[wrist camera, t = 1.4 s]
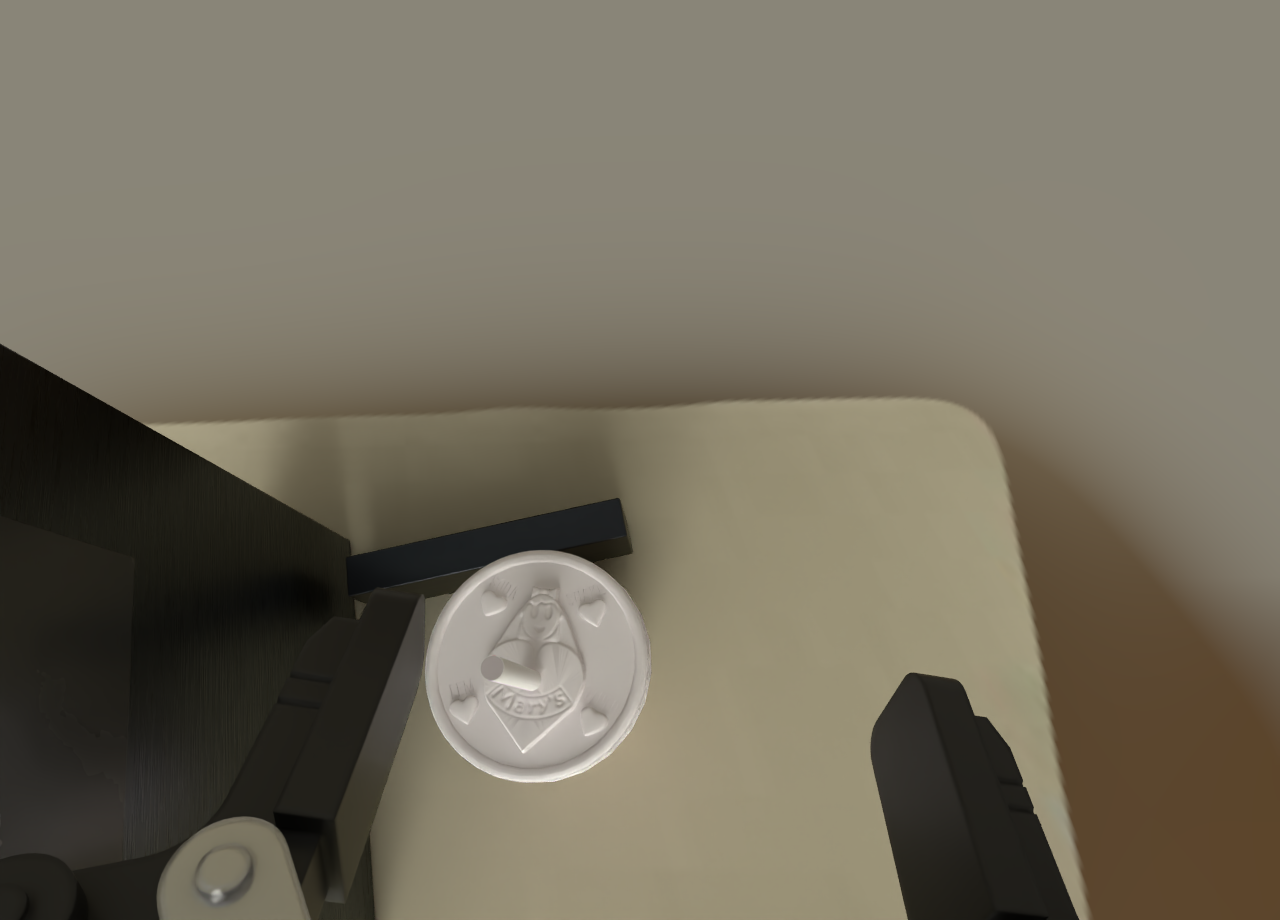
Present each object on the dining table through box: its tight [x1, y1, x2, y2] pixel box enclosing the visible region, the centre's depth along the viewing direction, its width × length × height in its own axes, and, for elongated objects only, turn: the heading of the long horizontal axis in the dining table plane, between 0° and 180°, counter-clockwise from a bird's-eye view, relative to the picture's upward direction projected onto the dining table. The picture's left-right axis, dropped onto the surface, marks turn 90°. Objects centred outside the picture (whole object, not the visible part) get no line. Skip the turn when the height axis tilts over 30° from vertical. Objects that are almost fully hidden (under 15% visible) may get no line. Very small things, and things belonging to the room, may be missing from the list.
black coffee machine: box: [0, 344, 633, 920], centre depth 18 cm, size 16×16×25 cm
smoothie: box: [425, 550, 652, 783], centre depth 23 cm, size 6×6×14 cm
